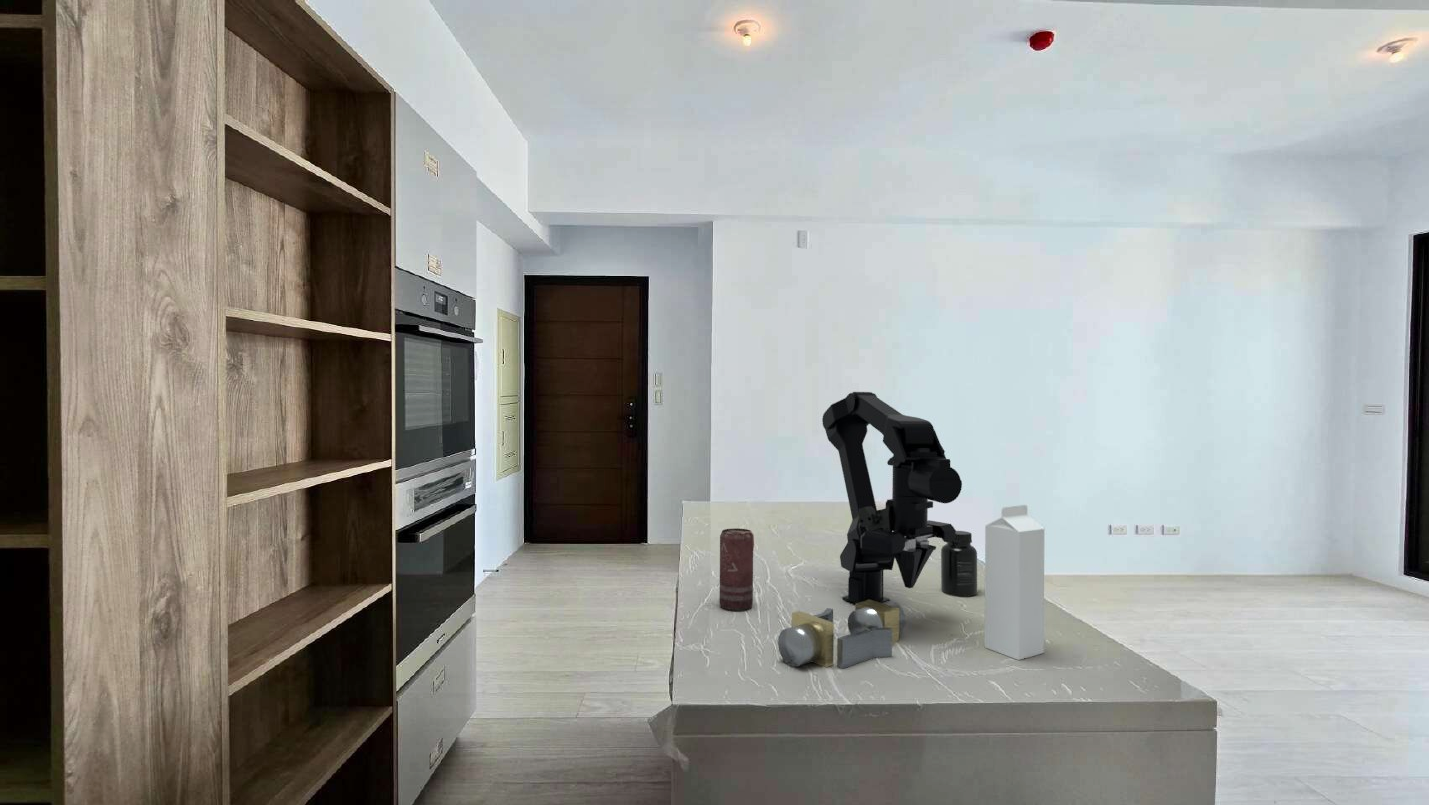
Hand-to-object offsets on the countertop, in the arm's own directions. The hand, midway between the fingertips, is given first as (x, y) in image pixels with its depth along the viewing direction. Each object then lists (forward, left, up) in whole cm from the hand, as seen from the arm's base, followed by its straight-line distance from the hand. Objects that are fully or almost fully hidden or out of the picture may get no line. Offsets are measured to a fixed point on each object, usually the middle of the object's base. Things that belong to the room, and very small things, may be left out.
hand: (909, 587), depth 111 cm
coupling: (+20, 0, -7) cm, 21 cm away
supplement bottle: (-26, -7, -7) cm, 28 cm away
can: (+16, -26, -7) cm, 31 cm away
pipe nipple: (+9, 0, -7) cm, 11 cm away
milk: (-4, +16, -7) cm, 18 cm away
